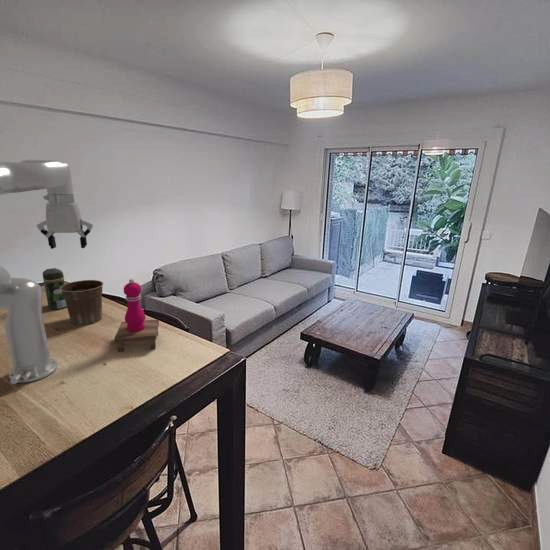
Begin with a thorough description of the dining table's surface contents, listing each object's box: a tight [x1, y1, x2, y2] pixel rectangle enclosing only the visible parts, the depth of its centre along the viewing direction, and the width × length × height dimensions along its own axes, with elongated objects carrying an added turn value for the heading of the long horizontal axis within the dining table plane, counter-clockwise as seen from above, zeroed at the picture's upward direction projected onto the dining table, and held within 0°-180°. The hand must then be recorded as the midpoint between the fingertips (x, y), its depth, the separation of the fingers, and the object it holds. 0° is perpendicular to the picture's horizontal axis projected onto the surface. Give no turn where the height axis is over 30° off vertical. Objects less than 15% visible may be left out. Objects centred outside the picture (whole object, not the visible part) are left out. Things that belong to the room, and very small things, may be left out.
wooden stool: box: [113, 319, 160, 353], centre depth 124 cm, size 14×14×6 cm
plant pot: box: [60, 279, 104, 326], centre depth 140 cm, size 16×16×16 cm
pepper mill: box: [123, 278, 146, 332], centre depth 120 cm, size 7×7×20 cm
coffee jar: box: [42, 267, 67, 310], centre depth 152 cm, size 10×8×19 cm
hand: (68, 247), depth 116 cm, fingers open, 9 cm apart
